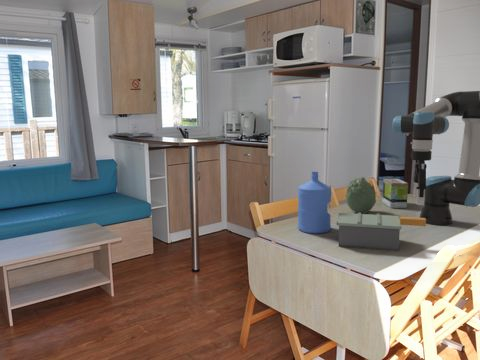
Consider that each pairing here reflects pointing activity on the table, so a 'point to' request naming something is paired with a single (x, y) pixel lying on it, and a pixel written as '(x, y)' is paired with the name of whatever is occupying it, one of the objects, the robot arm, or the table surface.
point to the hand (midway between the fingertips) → (418, 201)
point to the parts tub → (369, 238)
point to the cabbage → (360, 195)
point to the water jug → (314, 206)
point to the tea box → (395, 193)
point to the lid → (377, 221)
